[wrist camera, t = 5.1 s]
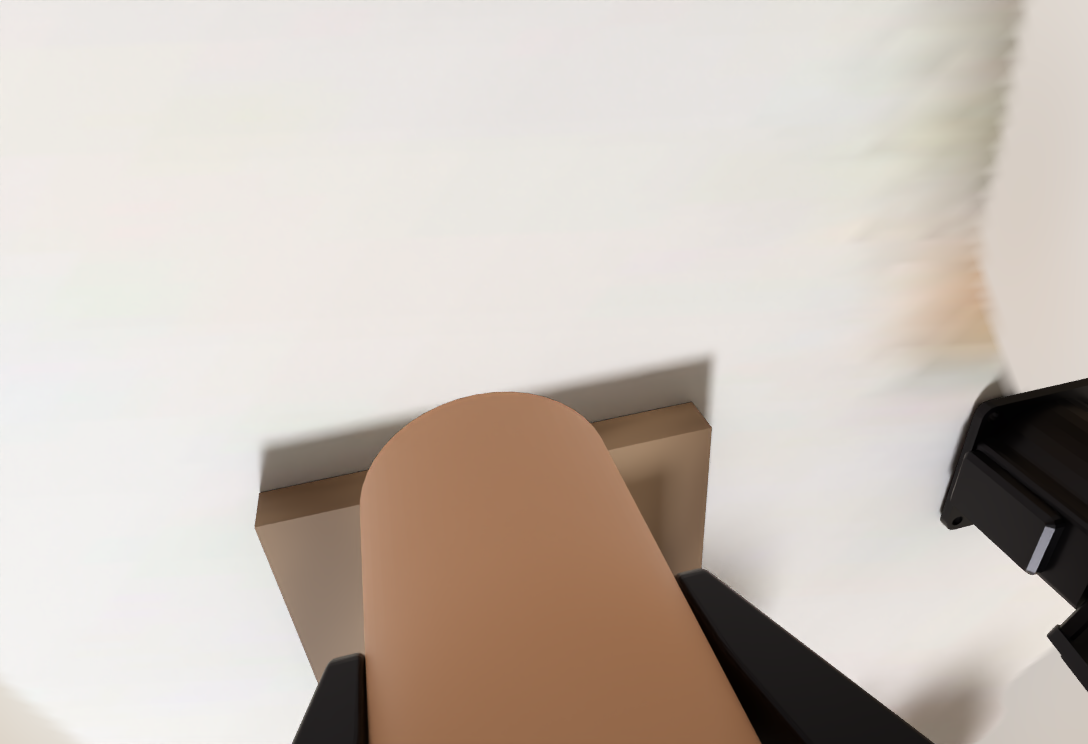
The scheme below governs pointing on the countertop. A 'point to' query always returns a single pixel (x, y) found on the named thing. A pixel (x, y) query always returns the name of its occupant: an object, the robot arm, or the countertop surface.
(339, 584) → the socket board
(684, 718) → the peg
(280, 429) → the countertop surface
